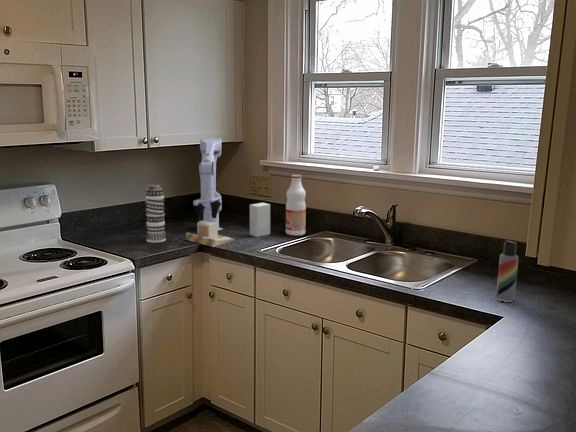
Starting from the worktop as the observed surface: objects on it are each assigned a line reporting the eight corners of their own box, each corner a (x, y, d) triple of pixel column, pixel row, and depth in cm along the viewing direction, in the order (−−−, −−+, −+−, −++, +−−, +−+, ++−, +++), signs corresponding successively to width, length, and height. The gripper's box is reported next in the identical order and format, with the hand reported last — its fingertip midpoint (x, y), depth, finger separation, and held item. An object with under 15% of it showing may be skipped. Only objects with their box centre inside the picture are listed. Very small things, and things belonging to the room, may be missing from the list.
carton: (208, 240, 259) (208, 225, 257) (197, 237, 264) (196, 222, 262) (217, 238, 262) (217, 223, 261) (206, 235, 268) (205, 220, 266)
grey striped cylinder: (170, 240, 262) (168, 185, 257) (151, 243, 257) (149, 187, 251) (161, 236, 269) (159, 182, 264) (142, 239, 263) (140, 184, 258)
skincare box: (263, 232, 280) (263, 202, 277) (270, 235, 276) (271, 203, 273) (248, 235, 275) (248, 203, 272) (256, 237, 271) (256, 205, 268)
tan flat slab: (185, 239, 264) (185, 233, 263) (208, 234, 274) (208, 228, 273) (212, 247, 252) (212, 239, 252) (235, 241, 262) (235, 234, 262)
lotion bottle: (492, 297, 194) (498, 238, 190) (509, 297, 195) (515, 238, 191) (500, 303, 189) (506, 243, 185) (517, 303, 189) (523, 243, 185)
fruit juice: (300, 236, 273) (301, 177, 268) (282, 234, 277) (282, 175, 272) (308, 232, 282) (309, 174, 276) (291, 230, 286) (291, 173, 280)
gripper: (200, 191, 251) (201, 222, 254) (225, 188, 262) (225, 218, 264) (190, 190, 256) (190, 220, 258) (215, 186, 266) (215, 215, 269)
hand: (207, 219), depth 262 cm, fingers open, 7 cm apart
